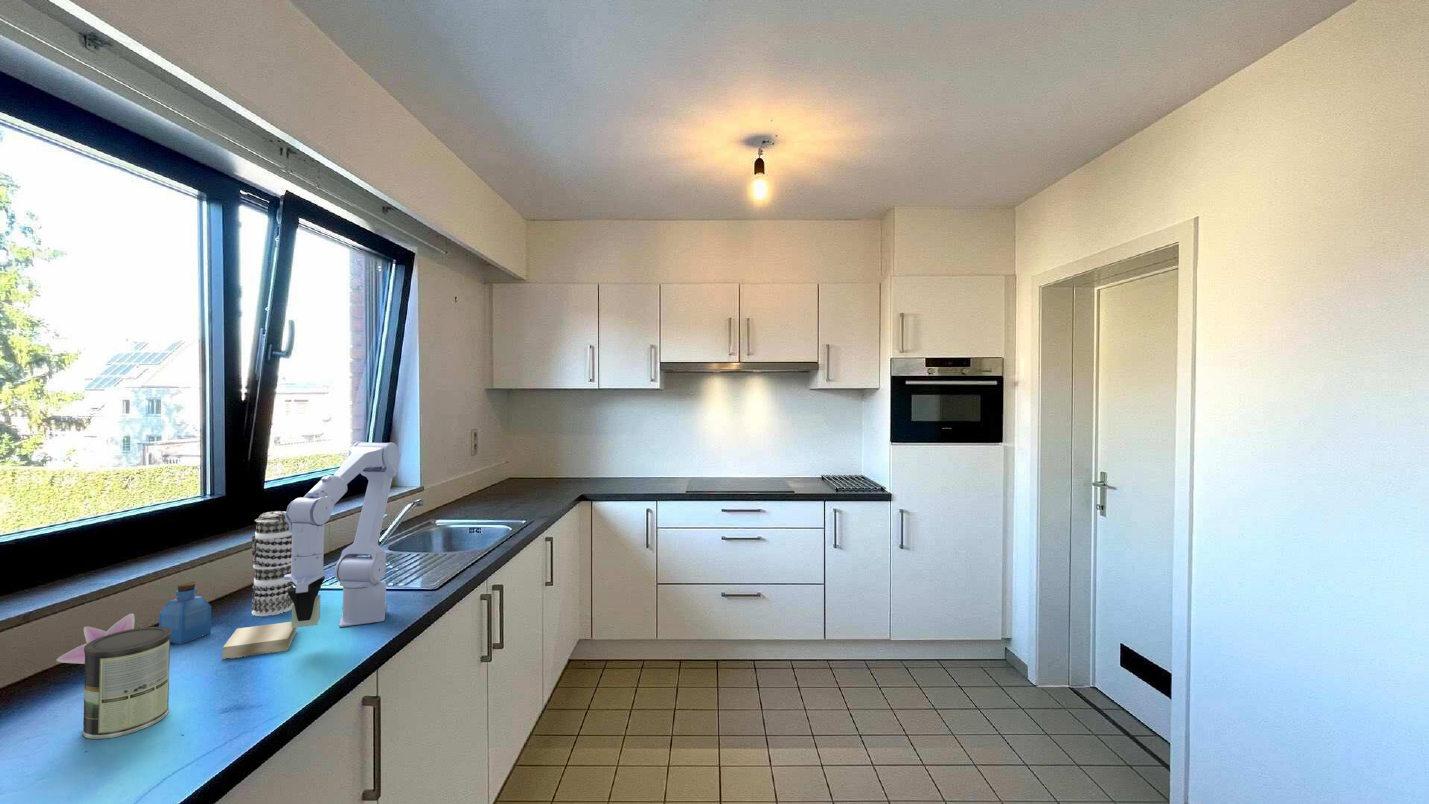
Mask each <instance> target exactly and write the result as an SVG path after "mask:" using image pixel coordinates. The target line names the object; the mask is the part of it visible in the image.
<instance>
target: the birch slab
mask: <svg viewBox="0 0 1429 804" xmlns="http://www.w3.org/2000/svg"><path fill="white" fill-rule="evenodd" d="M291 627H292V621H288V622H285V621H284V622H278V623H270V624H263V625H262V624H261V625H255V626H248V627H238V628H236V629H235V631H234V632H233V633H232V635H231V636H230V637H229V639H227V641H226V643H224V645H223V647H222V659H223V660H225V659H224V658H230V659H237V658H242V656H244V657H247V656H246V655H251V656H257V654H258V655H263V654H264V653H265V654H271V652H272V653H278V652H285V651H288V649H289V647H290V646H291V643H292V641H293V640H294V638H295V636H296V633H297V628H291ZM236 657H237V658H236Z"/></svg>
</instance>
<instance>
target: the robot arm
mask: <svg viewBox="0 0 1429 804" xmlns="http://www.w3.org/2000/svg"><path fill="white" fill-rule="evenodd" d="M351 446H352V447H350V448H349V449H348V457H347V458H346V460H345V461H344V462H343V463H342V464H341V465H340V466H339V468H338V469H337V470H336V472H335V473H334V474H329V475H328V474H327V475H324V476H322V477H321V478H320V480H319V481H318V482H317V483H316V484H315V485H314V486H313V487H312V488H311V489H310V490H309V491H308V492H307V493H306V494H305V495H304V496H303V497H297V498H295V499H294V500H292V501H290V503H289V504H288V505H287V508H286V511H285V512H286V513H285V519H286V521H287V522H288V524H289V531H290V533H292V551H291V574H287V575H285V576H284V580H291V581H292V582H293V584H292V585H293V588H289V589H288V595H289V596H290V598H291V599H292V601H293V603H294V606H295V610H296V615H297V619H298V621H306V620H310V618H311V616H312V612H313V606H314V602H315V598H316V596H317V595H319V593H320V590H321V587H322V584H323V583H324V581H325V578H326V576H325V571H324V557H325V556H324V549H325V543H324V542H325V523H327V522H328V521H329V520H330V518H331V514H332V511H333V510H334V509H335V504H336V503H337V502H339V500H341V498H343V496H344V495H345V494H346V493H347V492H348V484H349V483H350V482H352V480H354V479H355V478H356V477H357V476H358V475H360V474H361V476H363V477H366V479H367V480H368V483H367V486H366V489H365V490H366V491H365V495H364V500H363V504H362V508H361V512H360V516H359V520H358V524H357V527H356V528H357V529H356V532H355V537H354V541H353V543H352V544H350V545H348V546H347V547H345V548H344V549H342V551H341V554H340V557H339V559H338V561H337V563H336V564H335V567H334V577H335V579H336V581H337V582H339V586H341V587H342V615H341V618H340V620H339V622H338V623H339V624H338V627H339V628H341V627H343V628H344V627H351V626H357V625H358V626H359V625H365V624H372V623H373V624H374V623H380V622H384V621H385V619H386V612H387V611H388V603H386V602H387V601H386V600H387V597H386V596H387V581H384V580H382V579H383V578H384V576H385V574H386V572H387V571H386V570H387V564H386V562H387V561H386V560H387V559H386V558H387V552H386V550H384V549H383V548H382V547H381V546H380V545H379V544H378V543H379V538H380V534H381V529H382V525H383V522H384V517H385V513H386V510H387V509H386V508H387V504H388V499H389V495H390V490H391V486H392V482H393V478H394V477H396V476H397V474H398V473H397V472H398V470H399V469H398V468H399V465H400V459H401V452H400V450H399V447H398V445H397V444H396V443H395V442H392V441H391V442H367V441H365V442H364V441H356V442H355V443H354V444H353V445H351ZM293 603H292V604H293Z"/></svg>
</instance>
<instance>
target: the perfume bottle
mask: <svg viewBox="0 0 1429 804" xmlns="http://www.w3.org/2000/svg"><path fill="white" fill-rule="evenodd" d="M196 584H197V582H195V581H189V582H182V583H178V584H177V585H176V587H177V590H176V591H175V596H176V597H177V598H174V599H171V600H168V602H167V603H166V604H165V605H164V606H163V608H162V609H161V611H160V612H159V618H158V620H159V622H158V623H159V624H158V627H166V628H169V629H170V630H171V636H170V642H174V643H173V644H177V643H179V644H178V645H183V644H185V643H187V642H186V641H188V642H190V640H191V641H193V640H195V639H194V638H196V639H199V638H201V636H202V635H204V636H207V635H209V634H208V633H210V634H211V629H212V624H211V623H212V606H211V605H210V603H209V602H208V601H207V600H206V599H205V598H204V596H198V595H195V594H196V593H197V589H198V588H197V587H196ZM206 634H207V635H206ZM198 637H199V638H198ZM202 637H203V636H202ZM192 639H193V640H192ZM184 642H185V643H184Z"/></svg>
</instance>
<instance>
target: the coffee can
mask: <svg viewBox="0 0 1429 804" xmlns="http://www.w3.org/2000/svg"><path fill="white" fill-rule="evenodd" d="M170 636H171V630H170V629H169V628H166V627H159V626H144V627H137V628H134V629H130V630H125V631H120V632H116V633H112V634H109V635H106V636H103V637H100V638H98V639H95V640H93V641H91V642H89V643H88V644H86V643H85V644H86V645H85V647H84V653H85V664H84V678H83V679H84V682H83V683H84V684H83V687H84V689H83V690H84V691H83V724H82V725H83V729H82V736H83V737H84V738H87V739H90V740H104V739H112V738H113V739H114V738H117V737H122V736H126V735H130V734H133V733H135V732H138V731H141V730H145V729H147V728H149V727H151V726H153V725H155V724H157V723H159V722H160V721H162V720H163V719H164V718H166V716H167V715H168V714H169V711H170V707H169V694H170V693H169V692H170V658H171V657H170V654H171V643H170Z"/></svg>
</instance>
